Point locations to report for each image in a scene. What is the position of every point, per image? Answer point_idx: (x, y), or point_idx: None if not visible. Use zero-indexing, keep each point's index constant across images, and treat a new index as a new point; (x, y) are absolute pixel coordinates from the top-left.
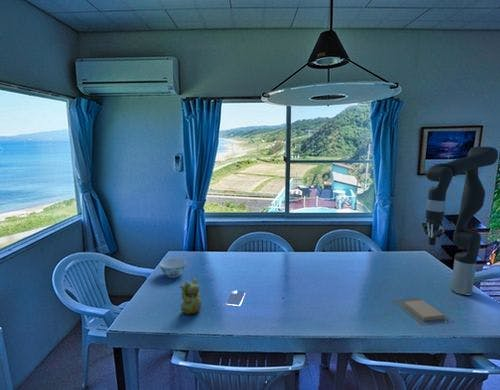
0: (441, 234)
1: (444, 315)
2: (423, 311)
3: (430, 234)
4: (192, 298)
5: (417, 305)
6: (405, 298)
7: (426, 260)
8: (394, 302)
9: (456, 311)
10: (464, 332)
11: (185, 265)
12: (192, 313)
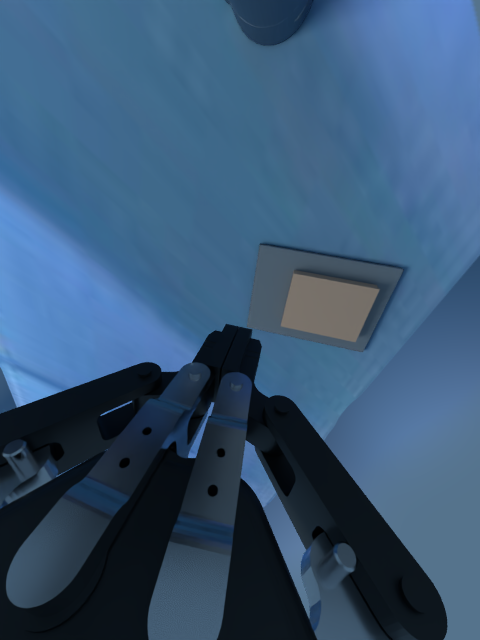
0: (335, 472)
1: (366, 265)
2: (337, 322)
3: (201, 424)
4: None
5: (308, 311)
6: (253, 287)
7: None
8: (261, 327)
9: (365, 193)
10: (441, 280)
11: None
12: None
